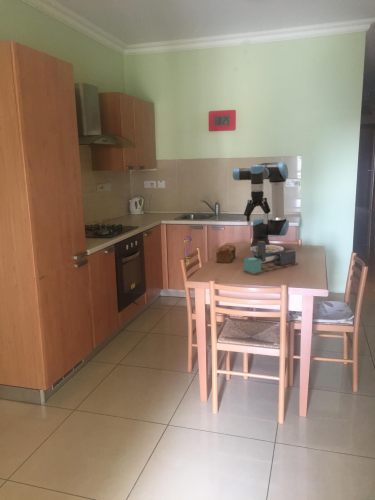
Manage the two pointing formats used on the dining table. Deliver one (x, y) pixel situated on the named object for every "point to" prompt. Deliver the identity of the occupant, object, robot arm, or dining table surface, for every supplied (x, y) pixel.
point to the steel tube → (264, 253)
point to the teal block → (252, 265)
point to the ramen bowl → (268, 250)
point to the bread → (225, 253)
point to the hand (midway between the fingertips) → (257, 225)
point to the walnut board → (270, 268)
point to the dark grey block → (285, 257)
